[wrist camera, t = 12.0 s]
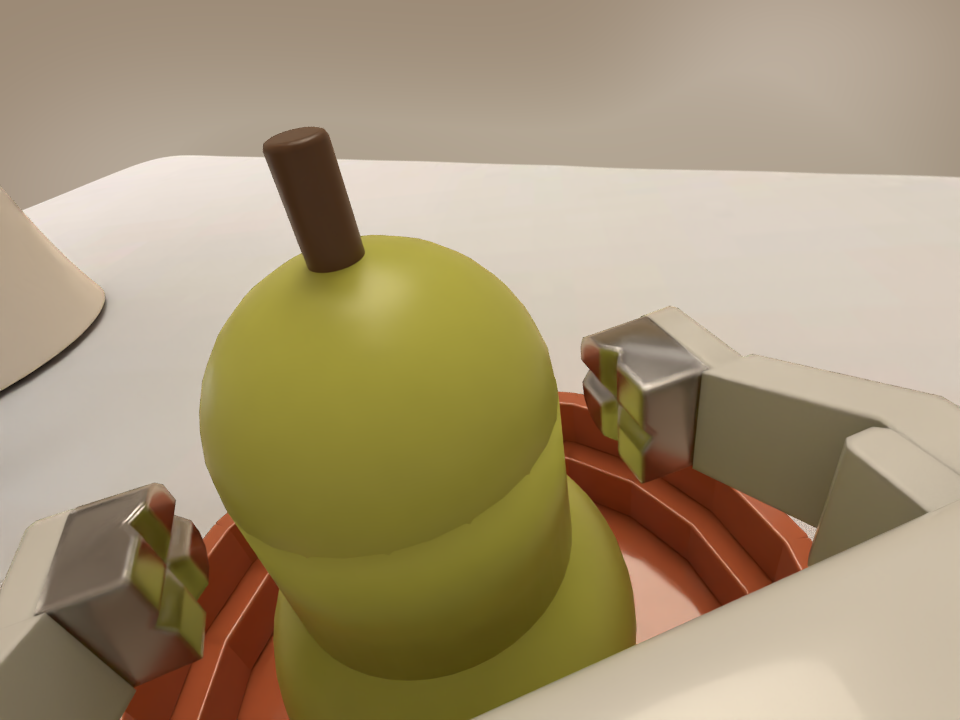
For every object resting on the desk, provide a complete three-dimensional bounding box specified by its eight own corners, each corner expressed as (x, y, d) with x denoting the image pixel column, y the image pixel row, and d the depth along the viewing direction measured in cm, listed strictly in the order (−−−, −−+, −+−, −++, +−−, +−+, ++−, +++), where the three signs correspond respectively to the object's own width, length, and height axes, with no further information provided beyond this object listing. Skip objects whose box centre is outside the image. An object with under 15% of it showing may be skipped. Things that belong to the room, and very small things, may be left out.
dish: (99, 1614, 6) (-148, 1850, 4) (197, 562, 16) (143, 494, 14) (1077, 970, 8) (1207, 928, 6) (609, 411, 18) (607, 335, 16)
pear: (371, 959, 9) (-444, 496, 2) (330, 619, 14) (36, 143, 7) (701, 790, 10) (854, 115, 3) (556, 529, 15) (492, 37, 8)
